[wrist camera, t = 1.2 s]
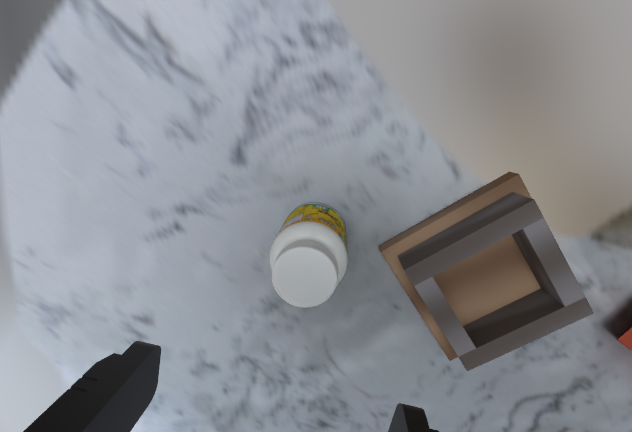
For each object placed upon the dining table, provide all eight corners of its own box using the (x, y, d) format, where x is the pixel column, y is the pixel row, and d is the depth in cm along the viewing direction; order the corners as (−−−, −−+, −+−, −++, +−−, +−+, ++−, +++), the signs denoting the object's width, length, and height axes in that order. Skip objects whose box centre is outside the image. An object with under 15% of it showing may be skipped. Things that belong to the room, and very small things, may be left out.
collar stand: (571, 289, 29) (613, 317, 24) (444, 349, 31) (461, 385, 26) (509, 171, 27) (542, 179, 22) (378, 245, 29) (385, 266, 25)
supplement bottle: (272, 225, 29) (241, 268, 20) (321, 188, 28) (311, 216, 19) (310, 271, 30) (296, 333, 21) (358, 237, 29) (366, 287, 20)
